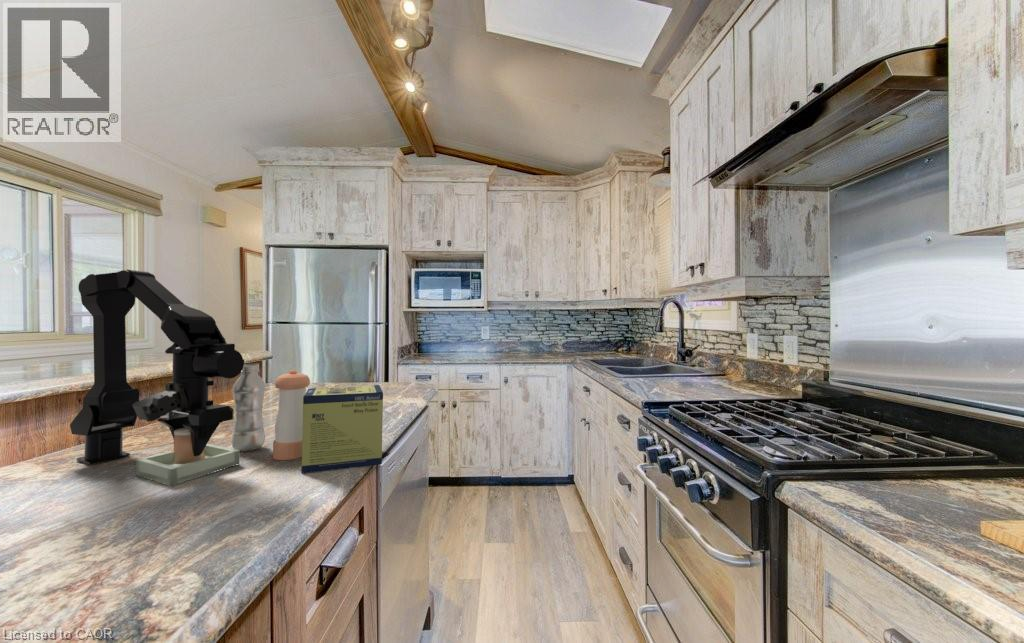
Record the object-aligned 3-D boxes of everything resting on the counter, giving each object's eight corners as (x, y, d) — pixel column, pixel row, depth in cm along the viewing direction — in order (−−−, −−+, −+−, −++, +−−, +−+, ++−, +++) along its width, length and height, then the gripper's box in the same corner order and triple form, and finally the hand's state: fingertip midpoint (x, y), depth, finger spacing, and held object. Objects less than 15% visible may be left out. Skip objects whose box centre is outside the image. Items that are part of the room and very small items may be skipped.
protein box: (383, 464, 84) (384, 391, 84) (300, 474, 78) (301, 395, 78) (379, 450, 93) (380, 384, 94) (305, 458, 87) (306, 387, 88)
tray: (135, 475, 77) (136, 459, 77) (204, 456, 88) (205, 443, 88) (170, 485, 72) (171, 469, 72) (239, 464, 83) (239, 450, 83)
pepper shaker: (298, 460, 86) (300, 372, 86) (265, 460, 86) (266, 371, 86) (315, 449, 93) (317, 368, 93) (285, 449, 93) (286, 368, 93)
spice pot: (167, 461, 78) (168, 430, 78) (196, 454, 83) (196, 425, 83) (182, 465, 76) (183, 433, 76) (210, 458, 81) (211, 427, 81)
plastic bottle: (271, 446, 95) (272, 363, 96) (250, 455, 89) (251, 366, 89) (246, 445, 96) (248, 362, 96) (223, 454, 89) (225, 365, 89)
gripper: (114, 378, 76) (113, 459, 76) (169, 385, 69) (167, 475, 69) (182, 372, 86) (180, 443, 86) (236, 377, 79) (234, 455, 79)
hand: (189, 453), depth 80 cm, fingers closed on spice pot, 5 cm apart
